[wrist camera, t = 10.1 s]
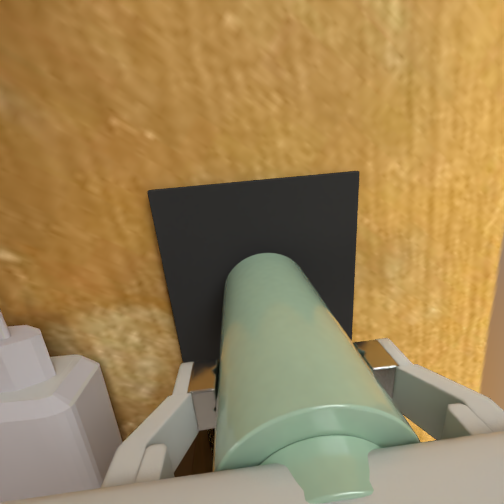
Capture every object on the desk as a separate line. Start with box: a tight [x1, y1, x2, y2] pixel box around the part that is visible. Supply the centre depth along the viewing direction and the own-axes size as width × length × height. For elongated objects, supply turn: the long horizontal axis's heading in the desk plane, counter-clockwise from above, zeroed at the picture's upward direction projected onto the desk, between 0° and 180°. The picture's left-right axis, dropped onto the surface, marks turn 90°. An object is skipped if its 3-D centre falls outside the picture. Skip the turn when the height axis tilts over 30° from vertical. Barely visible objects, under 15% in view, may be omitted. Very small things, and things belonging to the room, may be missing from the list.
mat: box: [148, 171, 359, 363], centre depth 18 cm, size 14×13×1 cm
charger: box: [0, 310, 122, 502], centre depth 17 cm, size 5×9×15 cm
